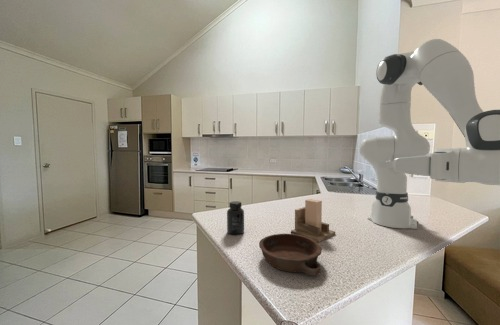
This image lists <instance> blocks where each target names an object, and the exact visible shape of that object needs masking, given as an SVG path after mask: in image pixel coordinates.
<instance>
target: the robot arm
mask: <svg viewBox="0 0 500 325" xmlns="http://www.w3.org/2000/svg"><path fill="white" fill-rule="evenodd" d="M375 75H376V79H377V80H378V83H379V84H382V86H381V90H380V94H379V95H380V96H379V102H378V103H379V105H378V106H379V107H378V109H379V111H378V123H379V124H380V126H382V127H384V128H387V129H388V130H391V131H393V132H394V135H389V136H385V135H384V136H372V137H367V138H364V139H363V140H362V141H361V143H360V145H359V148H358V149H359V154H360V156H361V157H362V159H364V160H366V161H367V162H368V163H369V164H370V165H371V166H372V168H373V170H374V172H375V177H376V191H375V193H374V194H375V200H374V201H372V202H371V211H370V212H371V213H370V215H368V216H367V219H368V220H370V221H372V222H373V224H377V225H380V226H383V227H387V228H393V229H411V230H415V229H416V230H417V229H418V221H417V220H418V219H417V217H416V218H415V217H414V216H413V215H412V208H411V206H410V205H411V204H409V195H408V192H407V190H408V189H407V188H408V178H407V177H408V176H407V175H415V176H421V177H422V176H423V177H429V179H432V180H435V182H445V183H458V184H460V183H462V184H464V183H477V184H482V185H486V186H487V185H488V186H500V109H491V110H487V111H483V109H482V108H481V107H480V105H479V102H478V99H477V95H476V89H475V88H476V87H475V75H474V70H473V68H472V65H471V64H470V61H469V60H468V58H467V57H466V56H465V55H464V53H462V52H461V51H460V50H459V48H457V47H456V46H454V45H453V44H451V43H449V42H448V41H446V40H444V39H440V38H432V39H429V40H427V41H425V42H423V43H422V44H420V45H419V46H418V47H417V48H416V49H415V50H413V51H409V52H404V53H394V54H390V55H387V56H385V57H383V58H382V59H381V60H380V61H379V63H378V65H377V68H376V74H375ZM416 84H418V85H419V86H422V85H423V87H425V89H426V90H427V91H428V92H429V93H430V94H431V95H432V96H433V97H434V98H435V100H436V101H438V103H439V104H440V105H441V106H442V107H443V108H444V109H445V110H446V112H448V114H449V115H450V117H451V118H452V120H453V121H454V123H455V124H456V126H457V127H458V129H459V130H460V132H461V134H462V135H463V136H464V140H465V145H466V146H465V147H463V148H462V147H458V148H456V147H455V148H436V149H435V151H434V152H432V153H430V150H431V145H430V142H429V140H428V139H427V138H426V137H424V136H423V135H422V134H420V133H418V132H417V130H416V129H415V128H414V126H413V123H412V120H411V107H412V106H411V105H412V104H411V103H412V89H413V88H414V86H415V85H416Z"/></svg>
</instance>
